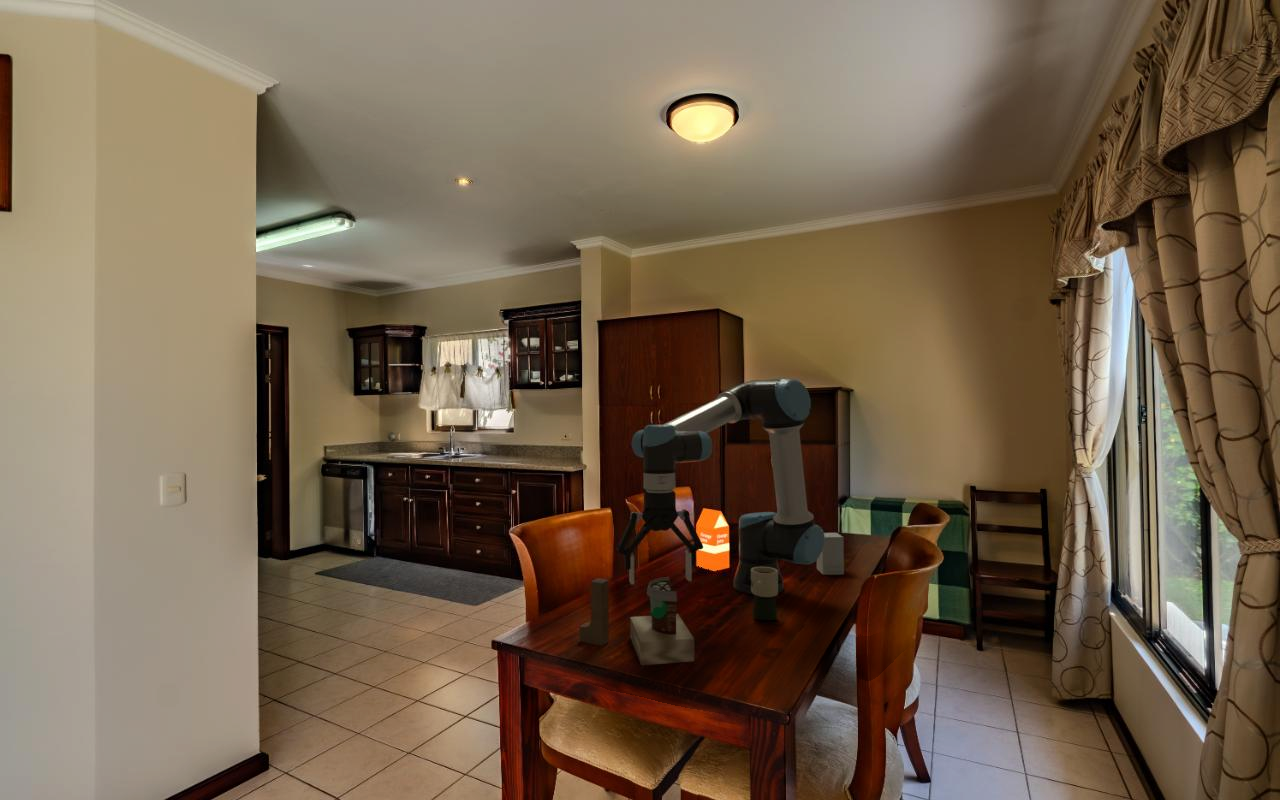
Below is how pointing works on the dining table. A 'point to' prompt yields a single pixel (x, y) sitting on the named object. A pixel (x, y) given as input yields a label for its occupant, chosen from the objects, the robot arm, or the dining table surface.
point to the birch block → (661, 642)
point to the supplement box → (832, 555)
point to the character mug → (764, 592)
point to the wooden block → (597, 615)
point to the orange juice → (713, 540)
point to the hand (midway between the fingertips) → (660, 581)
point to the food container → (662, 605)
